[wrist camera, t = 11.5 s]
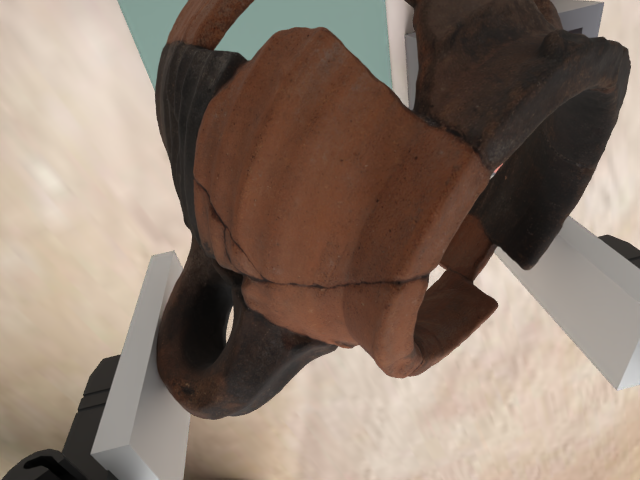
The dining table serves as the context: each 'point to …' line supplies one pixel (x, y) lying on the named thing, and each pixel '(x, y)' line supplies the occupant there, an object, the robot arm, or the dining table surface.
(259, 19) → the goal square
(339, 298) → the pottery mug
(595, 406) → the dining table surface
